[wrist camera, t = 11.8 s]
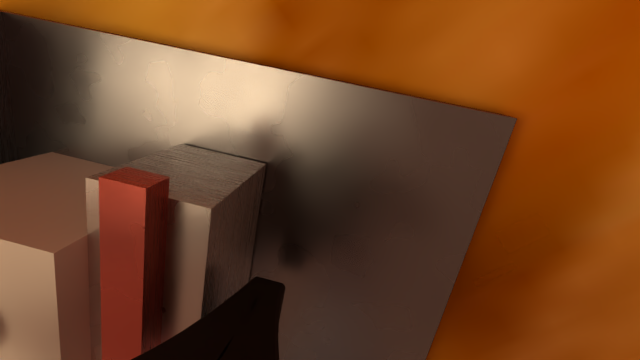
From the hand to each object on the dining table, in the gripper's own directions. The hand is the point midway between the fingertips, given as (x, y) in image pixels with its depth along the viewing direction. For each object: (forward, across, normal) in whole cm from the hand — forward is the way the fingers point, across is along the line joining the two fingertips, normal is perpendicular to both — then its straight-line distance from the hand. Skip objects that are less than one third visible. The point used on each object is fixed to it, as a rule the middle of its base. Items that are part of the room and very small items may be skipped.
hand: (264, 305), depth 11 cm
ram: (+2, +3, 0) cm, 3 cm away
